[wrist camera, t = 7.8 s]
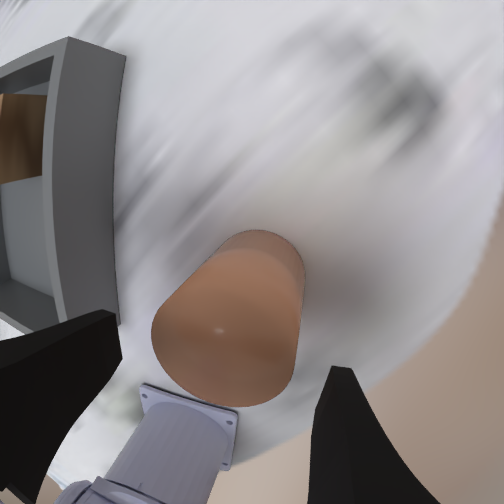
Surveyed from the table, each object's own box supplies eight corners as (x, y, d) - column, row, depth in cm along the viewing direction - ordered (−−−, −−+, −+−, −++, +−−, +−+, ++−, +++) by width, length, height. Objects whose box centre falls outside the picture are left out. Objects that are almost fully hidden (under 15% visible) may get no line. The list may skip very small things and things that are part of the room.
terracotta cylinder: (295, 324, 16) (279, 418, 10) (210, 306, 17) (156, 385, 11) (313, 239, 15) (309, 307, 8) (216, 222, 16) (148, 273, 9)
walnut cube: (57, 172, 16) (-3, 185, 11) (19, 171, 17) (-33, 182, 12) (63, 96, 14) (3, 93, 9) (23, 105, 15) (-29, 107, 10)
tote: (120, 324, 19) (78, 363, 15) (14, 280, 21) (-23, 301, 17) (125, 56, 13) (68, 36, 9) (8, 89, 16) (-37, 89, 11)
